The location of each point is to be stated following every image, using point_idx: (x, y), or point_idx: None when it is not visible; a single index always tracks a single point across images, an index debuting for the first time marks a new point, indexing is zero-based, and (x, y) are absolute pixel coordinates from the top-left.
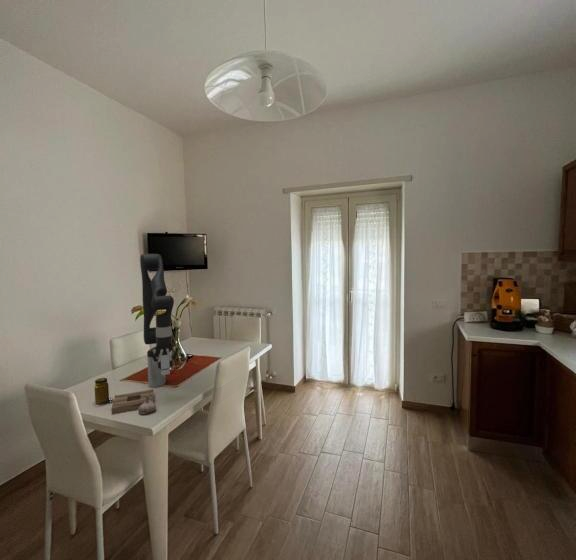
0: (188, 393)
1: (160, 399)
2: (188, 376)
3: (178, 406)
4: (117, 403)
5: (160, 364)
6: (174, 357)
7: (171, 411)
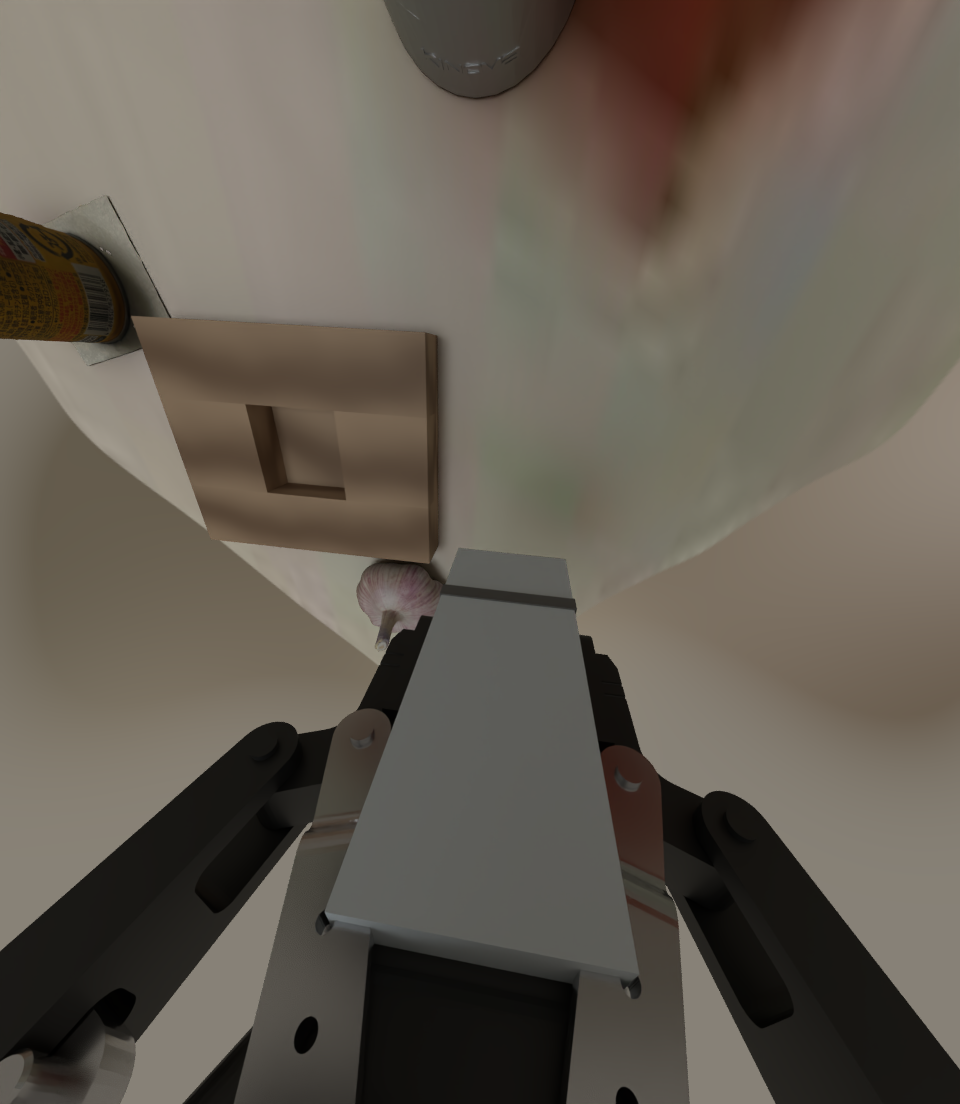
0: (684, 461)
1: (480, 462)
2: None
3: None
4: (218, 491)
5: None
6: (692, 895)
7: None
